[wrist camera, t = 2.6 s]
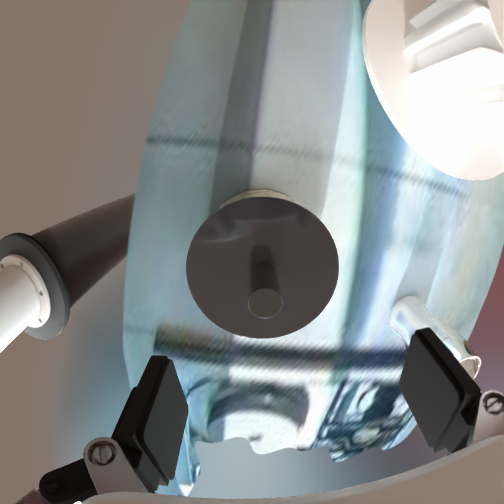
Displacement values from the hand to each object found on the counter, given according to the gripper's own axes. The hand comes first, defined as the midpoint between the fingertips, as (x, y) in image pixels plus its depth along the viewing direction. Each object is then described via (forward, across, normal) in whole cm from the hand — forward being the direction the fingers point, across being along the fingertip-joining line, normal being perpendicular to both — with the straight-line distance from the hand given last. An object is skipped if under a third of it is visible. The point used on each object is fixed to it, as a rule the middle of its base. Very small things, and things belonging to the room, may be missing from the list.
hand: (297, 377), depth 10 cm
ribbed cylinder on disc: (+24, -23, -18) cm, 38 cm away
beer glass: (+24, -19, +14) cm, 34 cm away
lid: (+15, +1, +2) cm, 15 cm away
